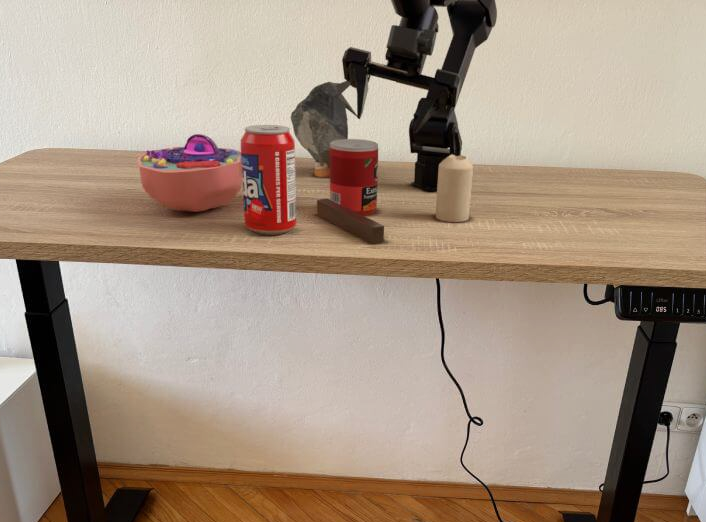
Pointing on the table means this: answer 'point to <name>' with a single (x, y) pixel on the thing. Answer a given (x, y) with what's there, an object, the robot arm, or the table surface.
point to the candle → (454, 189)
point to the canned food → (354, 174)
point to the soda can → (268, 179)
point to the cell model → (192, 175)
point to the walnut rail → (351, 221)
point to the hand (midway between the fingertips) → (386, 124)
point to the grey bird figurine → (322, 122)
